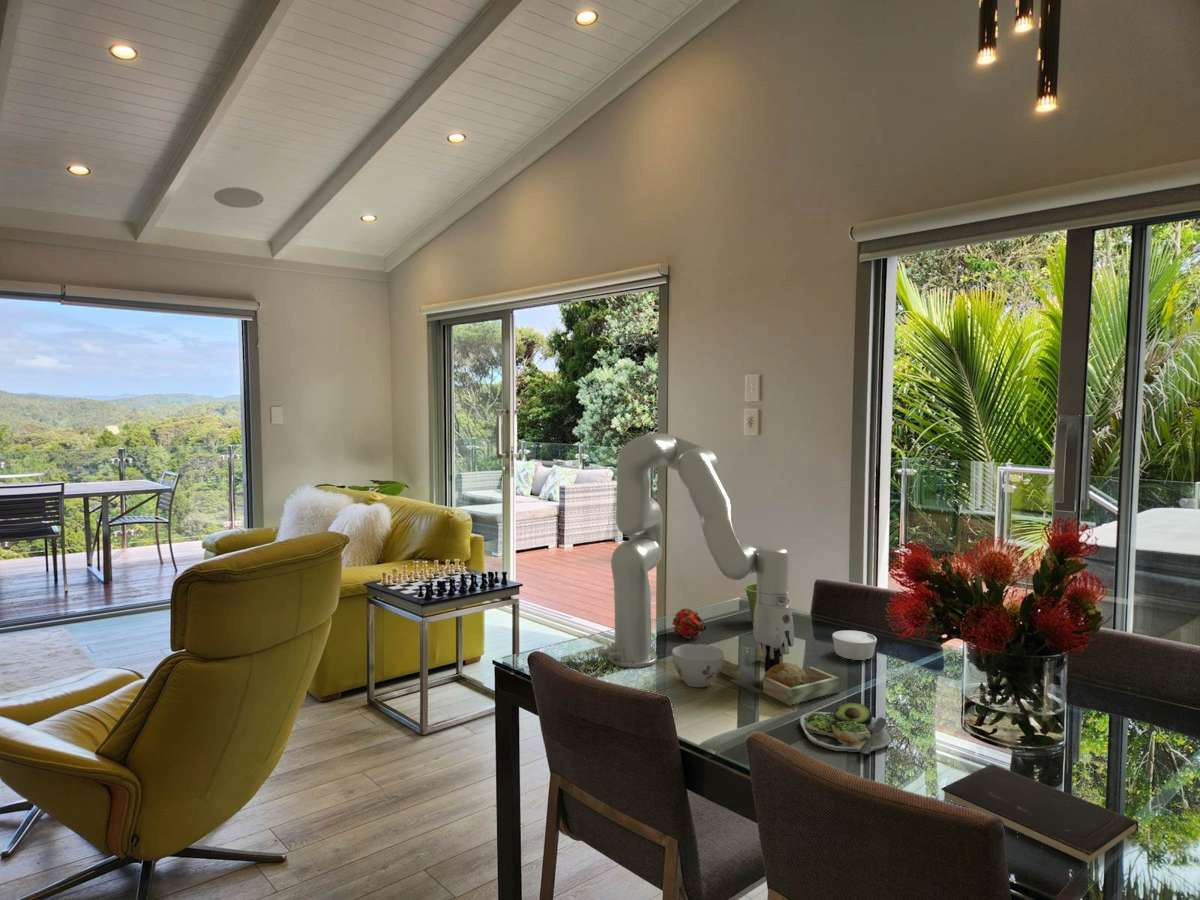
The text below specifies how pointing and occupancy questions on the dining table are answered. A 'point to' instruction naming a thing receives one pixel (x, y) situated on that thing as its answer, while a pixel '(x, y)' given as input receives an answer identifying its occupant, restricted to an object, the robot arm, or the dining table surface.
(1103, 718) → the dining table surface
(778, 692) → the beige shallow tray
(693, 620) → the dragon fruit
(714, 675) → the teacup
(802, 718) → the avocado toast plate
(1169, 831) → the dining table surface
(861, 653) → the ramekin
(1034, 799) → the hardcover book
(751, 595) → the plant pot
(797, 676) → the bread roll
